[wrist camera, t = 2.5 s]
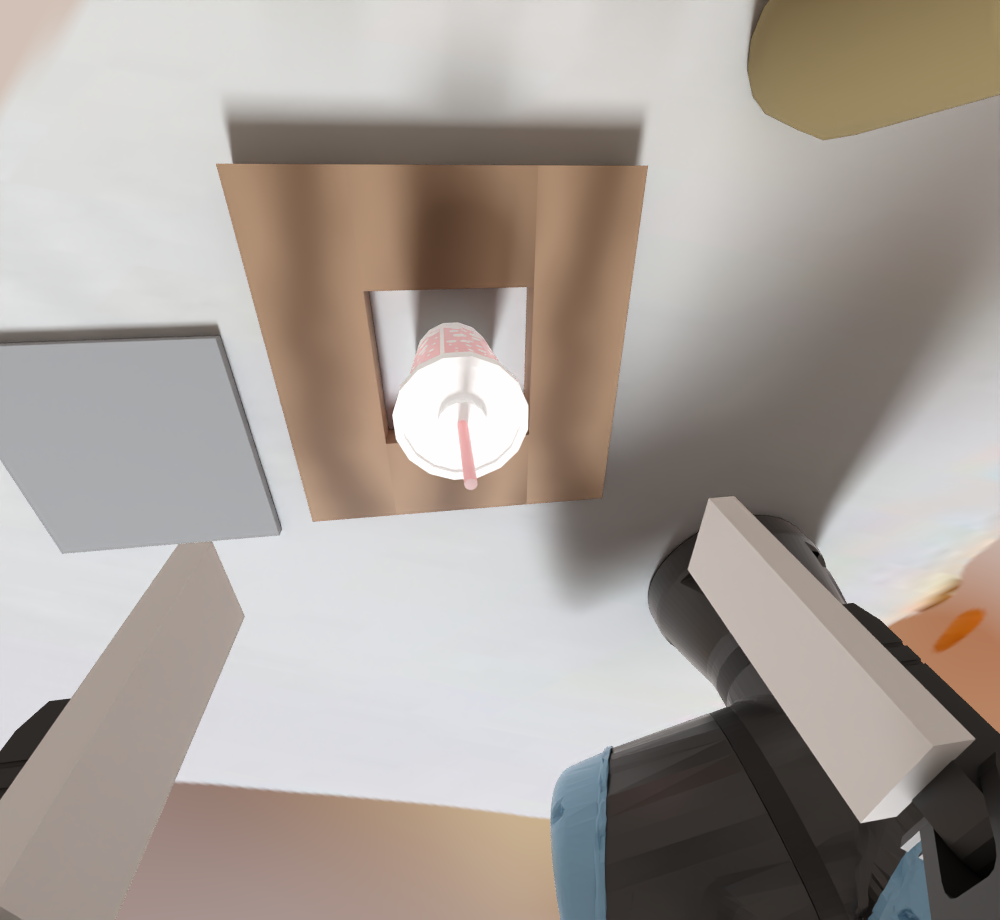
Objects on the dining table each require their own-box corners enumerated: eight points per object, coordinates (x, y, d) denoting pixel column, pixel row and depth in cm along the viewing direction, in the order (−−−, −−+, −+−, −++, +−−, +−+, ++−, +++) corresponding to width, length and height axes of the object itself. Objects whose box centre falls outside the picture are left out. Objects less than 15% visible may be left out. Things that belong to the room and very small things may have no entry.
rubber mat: (219, 335, 25) (215, 338, 25) (281, 529, 32) (279, 535, 32) (-62, 345, 24) (-73, 349, 23) (68, 547, 31) (62, 553, 30)
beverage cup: (420, 415, 29) (413, 567, 17) (388, 323, 26) (354, 431, 14) (511, 392, 29) (566, 527, 18) (490, 297, 26) (540, 383, 14)
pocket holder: (632, 167, 24) (647, 165, 22) (593, 482, 34) (601, 498, 32) (232, 166, 22) (216, 163, 20) (319, 504, 32) (312, 521, 30)
